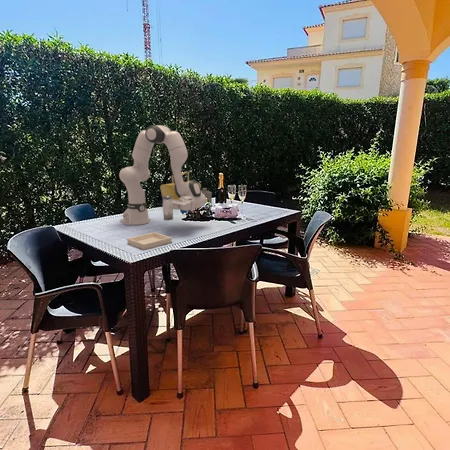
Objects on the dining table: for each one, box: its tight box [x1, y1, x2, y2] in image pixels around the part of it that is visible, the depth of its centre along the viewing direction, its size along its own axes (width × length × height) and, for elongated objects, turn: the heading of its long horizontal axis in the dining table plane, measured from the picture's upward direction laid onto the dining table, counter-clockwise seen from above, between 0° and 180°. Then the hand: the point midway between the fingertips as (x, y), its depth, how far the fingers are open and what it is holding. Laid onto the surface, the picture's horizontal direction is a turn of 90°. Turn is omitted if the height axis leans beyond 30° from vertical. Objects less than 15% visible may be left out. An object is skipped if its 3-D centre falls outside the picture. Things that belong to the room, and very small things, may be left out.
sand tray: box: [127, 231, 173, 251], centre depth 171 cm, size 16×18×3 cm
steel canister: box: [162, 195, 174, 221], centre depth 184 cm, size 6×6×14 cm
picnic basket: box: [159, 171, 201, 210], centre depth 273 cm, size 29×26×30 cm
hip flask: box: [201, 187, 213, 205], centre depth 247 cm, size 16×4×20 cm, turn 45°
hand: (166, 206), depth 183 cm, fingers closed on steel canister, 6 cm apart
